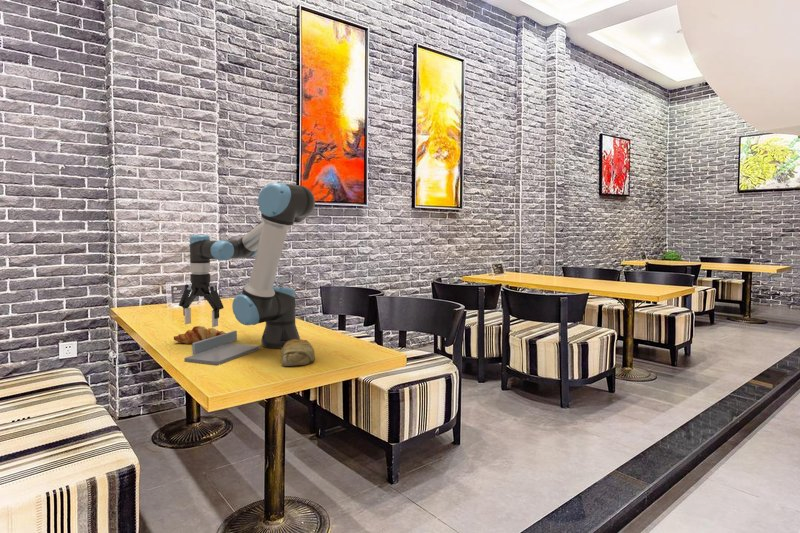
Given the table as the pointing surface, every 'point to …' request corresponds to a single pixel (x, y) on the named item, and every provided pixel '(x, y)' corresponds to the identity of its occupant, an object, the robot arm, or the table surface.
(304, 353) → the pastry
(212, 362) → the serving plate
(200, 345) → the divider
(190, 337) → the croissant
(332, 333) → the table surface
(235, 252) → the robot arm
